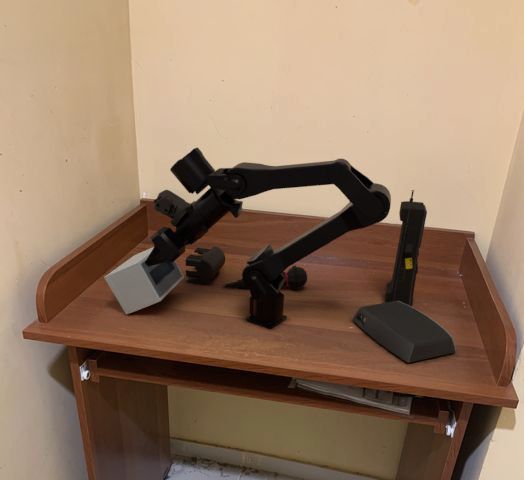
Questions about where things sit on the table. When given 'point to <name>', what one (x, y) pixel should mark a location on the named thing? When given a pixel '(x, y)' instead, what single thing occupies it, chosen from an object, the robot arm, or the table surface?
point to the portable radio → (407, 252)
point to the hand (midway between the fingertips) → (155, 257)
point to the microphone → (294, 276)
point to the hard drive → (405, 331)
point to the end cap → (204, 264)
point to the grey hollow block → (142, 282)
